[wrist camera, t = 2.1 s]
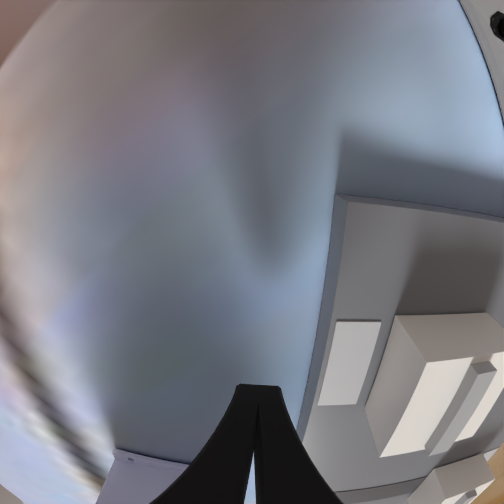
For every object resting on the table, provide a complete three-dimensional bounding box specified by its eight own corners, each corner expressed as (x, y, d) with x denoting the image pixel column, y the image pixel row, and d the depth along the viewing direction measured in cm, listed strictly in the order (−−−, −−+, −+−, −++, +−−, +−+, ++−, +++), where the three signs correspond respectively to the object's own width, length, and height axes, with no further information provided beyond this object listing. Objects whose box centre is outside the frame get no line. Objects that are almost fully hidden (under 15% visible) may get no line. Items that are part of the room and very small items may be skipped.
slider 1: (364, 408, 12) (382, 468, 9) (395, 315, 10) (434, 374, 7) (449, 396, 12) (477, 445, 8) (486, 312, 10) (532, 355, 7)
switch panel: (274, 509, 19) (274, 528, 17) (334, 193, 11) (348, 202, 9) (448, 483, 19) (453, 497, 17) (575, 234, 11) (595, 243, 9)
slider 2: (407, 498, 16) (416, 531, 12) (433, 468, 14) (447, 505, 11) (453, 485, 16) (464, 514, 12) (482, 453, 14) (497, 484, 11)
